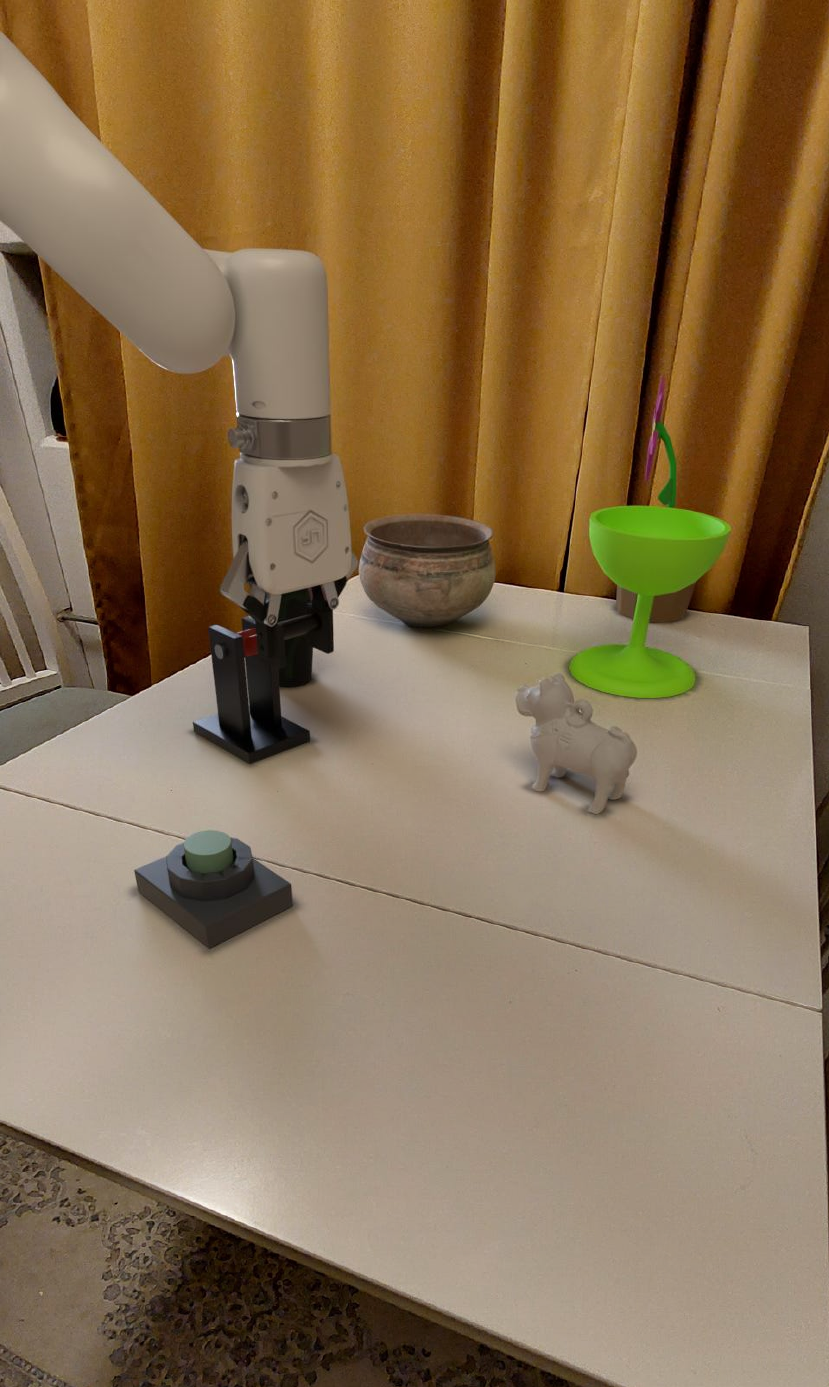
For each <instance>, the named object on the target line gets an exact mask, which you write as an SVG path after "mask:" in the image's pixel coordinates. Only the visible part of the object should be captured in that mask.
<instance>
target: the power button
mask: <svg viewBox="0 0 829 1387" xmlns="http://www.w3.org/2000/svg"><path fill="white" fill-rule="evenodd" d="M230 837H231V836H230V835H228V833H226V832H223V831H221V830H213V829H206V830H201V831H200V830H199V831H197V832H194V833H192V834H190V835H189V836H187V837H186V838H185V840H184V841H183V843H184V851H185V858H186V864H187V867H188V868H189V869H190V870H192V871H194V872H200V873H210V872H218V871H221V870H224V869H226V868H228V867H230V866H231V865H232V863H233V851H232V842H231V838H230Z"/></svg>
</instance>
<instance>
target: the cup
mask: <svg viewBox="0 0 829 1387" xmlns="http://www.w3.org/2000/svg"><path fill="white" fill-rule="evenodd" d="M248 585H249V590H250V592H251V589H252V584H248ZM266 597H267V594H266V593H265V599H264V606H265V603H266ZM307 603H312V601H311V599H310V595H309V592H308V588H305V589H301V590H297V591H292V592H288V593H284V594H282V595H281V602H280V608H279V614H278V620H277V623H279V622H283V621H287V620H290V619H294V618H298V617H301V616H305V615H306V607H307ZM284 644H285V660H286V665H285V667H284V668H280V669H278V674H279V688H296V687H301V686H304V685H307V684H309V683H310V682H311V681H312V678H313V677H312V676H313V657H314V656H313V655H314V648H313V647H311V646H309V645H308V643H307V634H303V635H300V636H296V637H293V638H289V639H286V640H284Z"/></svg>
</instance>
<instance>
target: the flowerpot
mask: <svg viewBox="0 0 829 1387" xmlns="http://www.w3.org/2000/svg"><path fill="white" fill-rule="evenodd" d="M665 383H666V375H665V374H663V375H662V377H661V380H660V384H659V387H658V392H657V398H656V405H655V406H654V412H653V417H652V422H651V429H652V430H651V436H650V438H649V441H648V442H649V443H648V448H647V455H646V466H645V479H644V480H645V483H648V481H649V478H650V474H651V471H652V467H653V466H652V465H653V461H654V460H653V459H654V455H655V454H656V453H655V452H656V448H657V442H658V440H659V439H661V440H662V442H663V444H664V448H665V452H666V456H667V460H668V463H669V469H668V470H669V473H668V474H669V475H668V476H669V477H668V478H669V479H668V481H667V482H666V484H665V485H664V487H663V488H662V489H661V490H660V492H659V493H658V495H657V500H658V501H659V502H660V503H661V504H662V505H663V506H666V507H669V508H676V503H677V501H676V497H677V459H676V455H675V451H674V447H673V443H672V439H671V436H670V435H669V433H668V430H667V429H666V427H665V425H664V423H663V422H662V419H661V417H662V413H663V406H664V400H665V399H664V398H665V386H666V384H665ZM697 583H698V580H697V581H696V582H695V583H693V584H691V585H689V586H687V587H685V588H683V589H681V590H680V591H677V592H674V593H668V594H663V595H657V596H654V598H653V603H652V608H651V614H650V619H649V623H671V622H672V623H673V622H677V621H681V620H682V619H683V618H684V617H685V616H686V615H687V610H688V608H689V605H690V603H691V600H692V596H693V594H694V591H695V587H696V585H697ZM637 597H638V594H636V593H633V592H631V591H629V590H626V589H624V588H622V587H620V586H618V585H617V584H616V598H615V600H616V601H615V603H616V604H615V609H616V610H617V611H618V612H619V614H620V615H622V616H624V617H627V618H629V619H631V620H634V614H635V609H636V603H637Z"/></svg>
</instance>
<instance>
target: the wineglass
mask: <svg viewBox="0 0 829 1387" xmlns="http://www.w3.org/2000/svg"><path fill="white" fill-rule="evenodd" d="M588 525H589V527H588V529H589V532H588V538H589V541H590V546H591V550H592V554H593V556H594V558H595V560H596V561H597V563H598V565H599V567H600V568H601V570H602V572H603V574H604V575H606V576H607V578H608V579H610V580H611V581H612V582H613V583H614V584H615V585H616V586H617V585H618V586H620V587H622V588H624V589H626V590H629V591H631V592H633V593H636V594H638V597H637V603H636V609H635V614H634V619H632V626H631V631H630V637H629V642H628V644H626V643H625V644H621V643H614V644H602V645H597V646H592V647H589V648H586V649H584V650H582V651H581V650H580V651H579V652H578V653H577V654H575V656H574V657H573V658H571V660H570V662H569V666H568V672H569V673H570V675H571V677H573V678H574V679H575V680H576V681H578V682H579V683H581V684H583V685H585V686H586V687H588V688H591V689H593V690H597V691H599V692H603V693H607V694H611V695H615V696H620V697H628V698H636V699H659V698H660V699H661V698H670V697H674V696H677V695H682V694H684V693H686V692H688V691H691V689H693V687H694V686H695V685H696V673H695V671H694V670H693V668H692V667H691V666H690V664H689V663H688V662H686V661H685V660H684V659H682V658H681V657H679V656H676V655H674V654H673V653H670V652H667V651H664V650H661V649H658V648H653V647H649V646H646V640H647V634H648V629H649V623H650V622H649V619H650V614H651V608H652V603H653V598H654V596H657V595H663V594H668V593H674V592H677V591H680V590H681V589H683V588H685V587H687V586H689V585H691V584H693V583H695V582H696V581H697V582H698V581H699V579H701V578H702V577H703V576H704V575H705V574H706V573H707V572H709V570H710V569H711V568H713V566H715V564H716V562H717V561H718V559H719V557H720V556H721V555H722V553H723V552H724V550H725V548H726V545H727V542H728V541H729V540H728V539H729V537H730V534H731V531H732V527H731V525H730V524H729V523H728V522H726V521H725V520H723V519H721V518H719V517H716V516H714V515H711V514H707V513H703V512H698V511H694V510H689V509H685V508H683V509H682V508H676V507H674V508H669V507H667V506H658V505H657V506H656V505H618V506H610V507H605V508H600V509H597V510H595V511H594V512H591V513H590V516H589V524H588ZM697 582H696V583H697Z"/></svg>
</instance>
